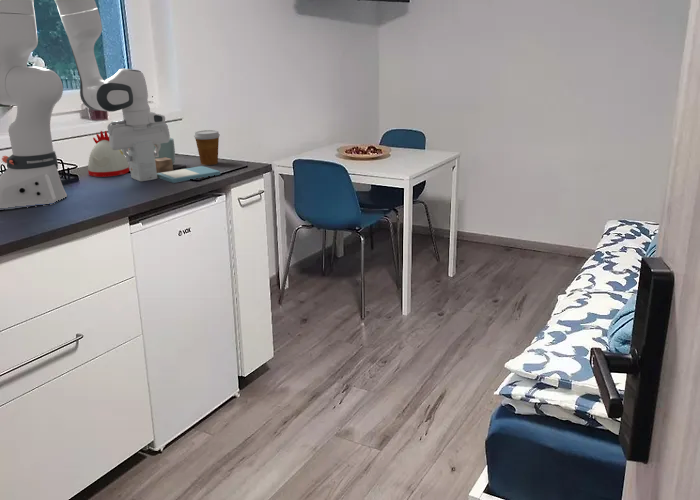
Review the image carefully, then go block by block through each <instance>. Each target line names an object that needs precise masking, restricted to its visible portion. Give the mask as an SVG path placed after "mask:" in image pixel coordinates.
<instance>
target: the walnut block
mask: <svg viewBox="0 0 700 500" xmlns="http://www.w3.org/2000/svg"><path fill="white" fill-rule="evenodd" d="M155 162H156V170H157V173H162V172H168V171H174V166H173V165H174V164H172V159H169V158H166V157H165V158H158V159H155Z"/></svg>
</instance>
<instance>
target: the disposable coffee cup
mask: <svg viewBox="0 0 700 500" xmlns="http://www.w3.org/2000/svg"><path fill="white" fill-rule="evenodd" d="M220 136H221V135H220V134H219V131H218V130H216V129H215V130H214V129H213V130H212V129H207V130H205V129H204V130H198V131H195V132H194V135H193V137H194V139H195V141H196V147H197V152H198V157H199V161H200V165H201V166H213V165H217V164H218V163H219V161H218V160H219V141H220V140H219V138H220Z"/></svg>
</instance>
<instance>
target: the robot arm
mask: <svg viewBox="0 0 700 500" xmlns="http://www.w3.org/2000/svg"><path fill="white" fill-rule="evenodd" d="M53 1H54V3H55V5H56V6H57V7H56V8H57V10H58V13H59V16H60V19H61V22H62V24H63V25H62V26H63V28H64V30H65V33H66V36H67V39H68V41H69V44H70V48H71V52H72V56H73V60H74V62H75V65H76V69H77V73H78V76H79V82H80V84H79V85H80V86H79V87H80V89H79V96H80V100H81V101H82V103H83V105H84V106H85V107H87V108H88V109H90V110H93V111H103V112H109V113H113V112H117V111H120V110H121V112H122V118H123V119H122V120H121V119H120V120H117V121H115V120H113V121H111V122H110V123H108V125H107V134H109V135H108V137H109V143H110V147H111V148H112V149H114V150H122V153H123V154H124V155H125V157H126V161H127V162H128V163H129V162H131V161H133V160H132V156H129V155H128V148H133V143H135V142H141V141H153V145H154V146H155V147H156V148H155V151H154V154H155V157H159V154H158V152H159V150H160V147H161V143H167V142H169V140H170V138H171V137H170V136H171V135H170V130H169V127H168V125H167V123H166V117H165V115H163V114H159V113H156V112H153V111H152V112H151V108H150V105H149V103H148V102H149V101H148V99H149V93H148V92H149V91H148V86H147V81H146V78H145V75H144V73H143V72H142V71H140V70H139V69H134V68H133V69H132V68H119V69H118V71H117V72H116V73H115V74H113V75H112V76H110V77H109V78H106V79H103V77H102V76H101V74H100V70H99V65H98V62H97V59H96V55H95V44H96V42H97V41H98V39H99V38H100V36H101V34H102V32H103V25H102V20H101V19H102V18H101V16H100V12H99V9H98V6H97V3H96V1H95V0H53ZM34 3H35V0H0V105H2V106H16V109H17V110H16V111H17V112H16V116H15V120H14V121H13V122H12V123H11V124H10V125H9V126H8V130H7V131H8V136H9V141H10V145H11V152H12V154H11V155H9V156H7V155H3V156H2V157H1V161H2V162H3V163H5V164H6V165H7V166H6V167H7V169H6V170H4V172H2V174H1V175H0V208H8V207H15V206H26V205H35V204H49V203H54V202H56V201H57V202H59V201H62V200H63V198H64V199H65V197H66V198H67V197H68V194H67V192H66V191H65V188H64V186H63V183H62V180H61V177H60V174H59V162H58V157H57V154H56V151H55V150H54V146H53V139H52V132H51V121H52V120H51V119H52V115H53V110H54V108H55V106H56V104H57V103H59V101H60V100H61V99H62V96H63V93H64V86H63V82H62V80H61V77H60V76H59V74H57V72H55V71H54V70H51V69H47V68H45V67H44V68H43V67H40V66H28V61H29V57H30V55H31V54H32V52H34V51H35V49H36V48H37V46H38V43H39V39H38V32H37V31H38V30H37V21H36V13H35V12H36V11H35V7H34V5H35V4H34ZM61 199H62V200H61ZM58 200H59V201H58ZM57 202H56V203H57ZM54 204H55V203H54Z"/></svg>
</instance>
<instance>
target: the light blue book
mask: <svg viewBox="0 0 700 500" xmlns="http://www.w3.org/2000/svg"><path fill="white" fill-rule="evenodd" d="M214 175H215V176H220V175H221V171H220V170H217V169H214V168H210V167H207V166H205V165H200V166H199V165H198V166H193V167H188V168H181V169H175V170H174V169H173V171H168V172H162V173H157V179H161V180H164V181H166V182H168V183H169V182H170V183H172V184H175V183H179V182H185V181H191V180H190V179H193V180H197V179H196V178H198V179H201V178H200V177H204V178H208V176H210V177H214Z"/></svg>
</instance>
